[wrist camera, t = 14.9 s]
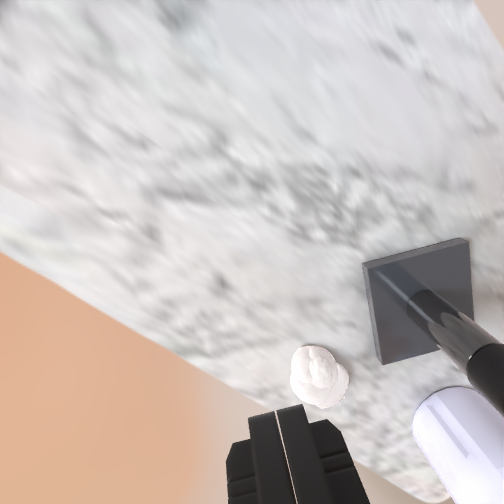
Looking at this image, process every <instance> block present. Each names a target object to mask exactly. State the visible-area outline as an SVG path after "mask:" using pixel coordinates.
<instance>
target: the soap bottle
mask: <svg viewBox="0 0 504 504" xmlns="http://www.w3.org/2000/svg"><path fill="white" fill-rule="evenodd" d="M412 430H413V437H414V439H415V440H416V442H417V444H418V445H419V447H420V449H421V450H422V452H423V453H424V455H425V456H426V458H427V459H428V461H429V463H430V464H431V466H432V467H433V469H434V470H435V472H436V474H437V475H438V477H439V478H440V480H441V481H442V483H443V485H444V486H445V488H446V489H447V491H448V492H449V494H450V496H451V497H452V499H453V500H454V502H455V503H456V504H504V418H503V417H502V415H501V414H500V413H499V412H498V411H497V410H496V409H495V408H494V407H493V406H492V405H491V404H490V403H489V402H488V401H487V400H486V399H485V398H484V397H483V396H481V395H480V394H479V393H477V392H476V391H475V390H472V389H468V388H464V387H453V388H446V389H444V390H441V391H439V392H436V393H434V394H433V395H431V396H430V397H429V398H427V399H426V400H425V401H423V403H422V404H421V406H420V407H419V408H418V410H417V411H416V412H415V416H414V419H413V422H412Z"/></svg>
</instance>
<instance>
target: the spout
mask: <svg viewBox="0 0 504 504" xmlns="http://www.w3.org/2000/svg"><path fill="white" fill-rule="evenodd" d="M467 376H468V380H469V382H470V383H471V384H472V385H473V386H474V387H475V388H476V389H477V390H478V391H479V392H480V393H481V395H482V396H483V397H484V398H485V399H486V400H487V401H488V402H489V403H490V404H491V405H492V406H493V407H494V408H495V409H496V410H497V411H498V412H499V413H500V414H501V415H502V416H503V417H504V344H492V345H488V346H486V347H484V348H482V349H481V350H479V351H478V352H477V353H476V354H475V355H474V356H473V357H472V359H471V360H470V362H469V364H468V368H467Z"/></svg>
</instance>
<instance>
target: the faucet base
mask: <svg viewBox="0 0 504 504" xmlns="http://www.w3.org/2000/svg"><path fill="white" fill-rule="evenodd" d="M362 267H363V273H364V279H365V285H366V292H367V298H368V304H369V310H370V316H371V323H372V329H373V335H374V341H375V347H376V353H377V358H378V359H379V361H380V362H381V364H382V365H386V364H389V363H393V362H397V361H400V360H404V359H408V358H412V357H415V356H419V355H423V354H426V353H430V352H434V351H438V350H442V351H443V352H444V353H445V354H446V355H447V356H448V357H449V358H450V359H451V360H452V361H453V362H454V363H455V364H456V365H457V366H458V367H459V368H460V369H461V370H462V371H463V372H464V373H465V374H466V375H467V368H468V364H469V362H470V360H471V359H472V357H473V356H474V355H475V354H476V353H477V352H478V351H479V350H481V349H482V348H484V347H486V346H488V345H492V344H502V343H501V342H499V341H498V340H497V339H495V338H494V337H493V336H492V335H490V334H489V333H488V332H487V331H485V330H484V329H483V328H481V327H480V326H479V325H478V324H476V323H475V322H474V312H473V297H472V283H471V269H470V255H469V242H468V241H466V240H464V239H462V238H457V239H453V240H449V241H445V242H442V243H438V244H434V245H430V246H426V247H423V248H419V249H415V250H411V251H408V252H404V253H400V254H396V255H392V256H389V257H385V258H381V259H377V260H373V261H370V262H366V263H362Z"/></svg>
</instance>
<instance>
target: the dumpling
mask: <svg viewBox="0 0 504 504" xmlns="http://www.w3.org/2000/svg"><path fill="white" fill-rule="evenodd" d="M290 382H291V387H292V389H293V391H294V393H295V394H296V395H297V396H298V397H299V398H300V399H301V400H302V401H304V402H306V403H309V404H312V405H317V406H318V407H320V408H323V409H327V408H330V407H332V406H334V405H335V404H336V403H337V402H338V401H339V400H340V399H341V398H342V397H343V396H344V394H345V392H346V390H347V387H348V383H349V377H348V373H347V371H346V369H345V368H344V367H343V366H342V365H340V364H339V363H336V361H335V358H334V357H333V356H332V355H331V353H330V352H329V351H328V350H326V349H324V348H322V347H319V346H304V347H301V348H299V349H298V350H297V351H296V352H295V354H294V356H293V358H292V374H291V378H290ZM344 398H345V396H344V397H343V399H344Z"/></svg>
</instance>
